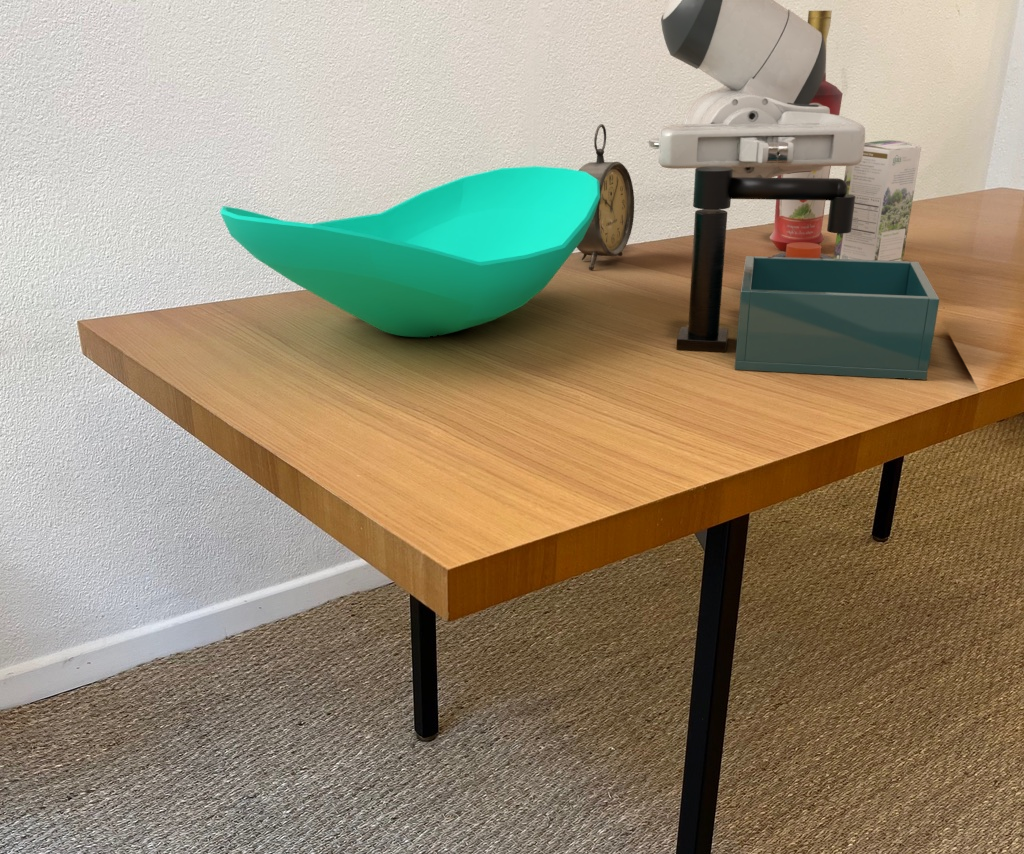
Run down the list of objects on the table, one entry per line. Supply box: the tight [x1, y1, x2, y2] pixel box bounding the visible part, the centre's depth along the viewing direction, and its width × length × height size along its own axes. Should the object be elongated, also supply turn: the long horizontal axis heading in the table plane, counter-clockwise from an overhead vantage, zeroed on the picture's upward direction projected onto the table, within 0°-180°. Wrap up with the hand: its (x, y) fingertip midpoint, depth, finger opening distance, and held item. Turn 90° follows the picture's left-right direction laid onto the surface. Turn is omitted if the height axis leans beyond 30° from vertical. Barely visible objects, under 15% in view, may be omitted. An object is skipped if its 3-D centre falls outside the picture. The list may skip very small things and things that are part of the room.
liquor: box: [769, 10, 843, 252], centre depth 131 cm, size 7×7×28 cm
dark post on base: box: [676, 209, 729, 353], centre depth 95 cm, size 4×4×12 cm
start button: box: [785, 242, 822, 258], centre depth 112 cm, size 4×4×2 cm
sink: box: [734, 255, 940, 380], centre depth 93 cm, size 16×15×7 cm
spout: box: [692, 166, 855, 234], centre depth 91 cm, size 14×3×5 cm, turn 80°
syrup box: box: [833, 139, 922, 261], centre depth 120 cm, size 6×6×14 cm
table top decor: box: [220, 165, 600, 338], centre depth 101 cm, size 40×28×13 cm
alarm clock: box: [576, 123, 635, 271], centre depth 127 cm, size 11×5×16 cm, turn 151°
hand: (778, 153), depth 98 cm, fingers closed
